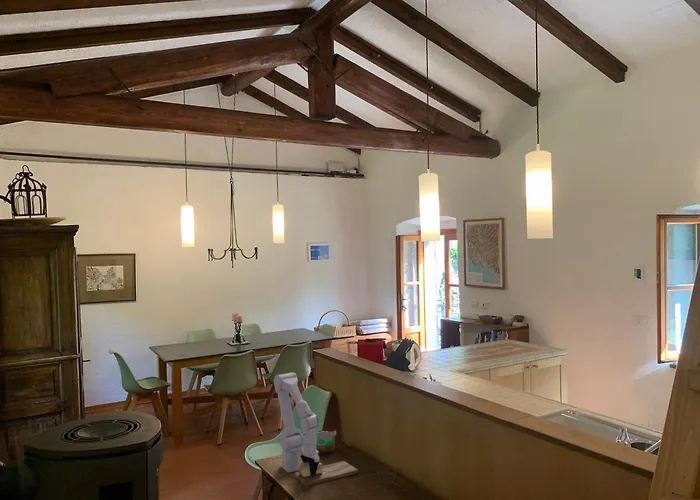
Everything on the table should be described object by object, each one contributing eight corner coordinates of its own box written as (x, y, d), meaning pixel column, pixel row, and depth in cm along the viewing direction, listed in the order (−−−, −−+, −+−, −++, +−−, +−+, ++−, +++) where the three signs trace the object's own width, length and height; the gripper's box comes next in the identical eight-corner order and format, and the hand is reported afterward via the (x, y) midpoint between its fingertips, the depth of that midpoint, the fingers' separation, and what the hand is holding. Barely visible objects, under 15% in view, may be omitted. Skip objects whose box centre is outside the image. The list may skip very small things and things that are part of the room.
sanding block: (298, 475, 243) (298, 464, 243) (316, 471, 247) (316, 460, 248) (303, 479, 239) (303, 467, 239) (322, 474, 243) (321, 463, 243)
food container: (310, 452, 275) (310, 433, 275) (313, 448, 281) (313, 429, 281) (334, 453, 273) (334, 433, 273) (336, 449, 279) (336, 430, 279)
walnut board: (294, 476, 246) (294, 472, 246) (343, 464, 259) (343, 460, 259) (306, 486, 235) (306, 482, 235) (358, 473, 248) (358, 469, 248)
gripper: (325, 445, 239) (325, 476, 239) (310, 436, 251) (311, 466, 251) (311, 448, 235) (311, 480, 235) (296, 439, 248) (297, 469, 248)
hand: (310, 473), depth 243 cm, fingers closed on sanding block, 5 cm apart
